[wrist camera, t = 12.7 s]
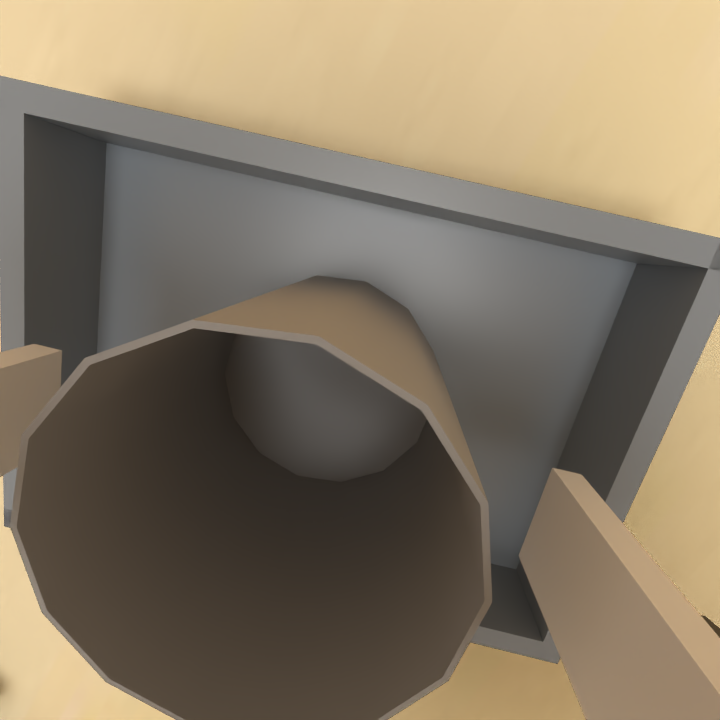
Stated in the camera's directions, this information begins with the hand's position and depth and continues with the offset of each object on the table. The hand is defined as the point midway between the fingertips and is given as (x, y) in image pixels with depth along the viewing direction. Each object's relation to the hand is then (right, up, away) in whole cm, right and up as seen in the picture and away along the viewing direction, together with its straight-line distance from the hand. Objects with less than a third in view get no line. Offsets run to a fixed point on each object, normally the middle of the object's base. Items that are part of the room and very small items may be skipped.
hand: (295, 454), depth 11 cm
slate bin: (+1, +2, +7) cm, 7 cm away
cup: (+1, +2, +6) cm, 6 cm away
